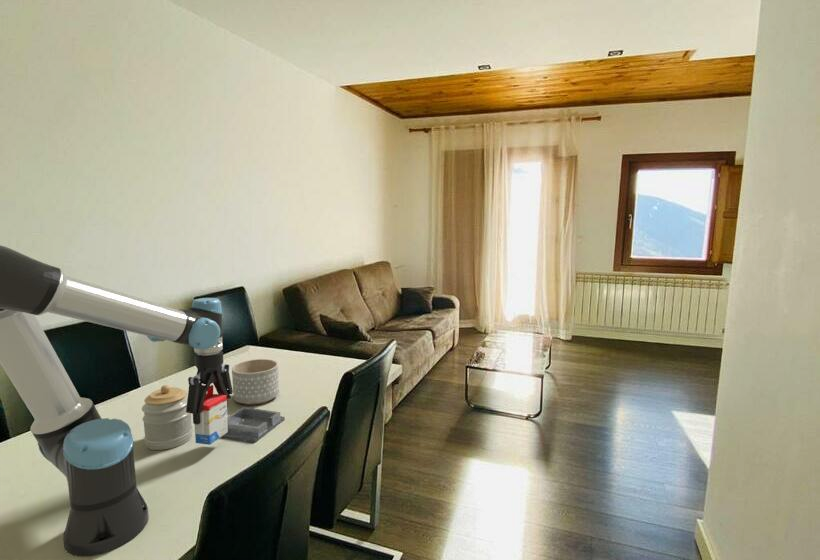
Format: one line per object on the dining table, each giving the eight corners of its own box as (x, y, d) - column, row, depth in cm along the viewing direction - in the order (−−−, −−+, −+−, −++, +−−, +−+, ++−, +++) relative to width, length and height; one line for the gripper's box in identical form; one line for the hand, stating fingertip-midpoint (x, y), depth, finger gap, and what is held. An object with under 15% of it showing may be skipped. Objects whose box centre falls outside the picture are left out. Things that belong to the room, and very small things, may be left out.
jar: (201, 436, 134) (198, 382, 132) (160, 455, 123) (155, 397, 121) (177, 426, 141) (173, 374, 138) (136, 443, 130) (131, 388, 127)
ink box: (210, 445, 121) (208, 396, 120) (194, 443, 122) (192, 394, 121) (228, 431, 130) (226, 385, 128) (214, 430, 131) (212, 383, 129)
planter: (224, 404, 158) (222, 371, 156) (250, 387, 173) (249, 357, 172) (263, 409, 154) (262, 375, 152) (287, 391, 170) (285, 360, 168)
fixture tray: (255, 442, 130) (254, 431, 130) (214, 435, 134) (213, 425, 134) (284, 419, 145) (284, 409, 145) (247, 414, 150) (246, 404, 149)
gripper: (190, 363, 112) (194, 445, 114) (244, 343, 132) (246, 413, 135) (167, 361, 114) (171, 441, 116) (223, 341, 134) (226, 410, 137)
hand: (211, 426), depth 126 cm, fingers closed on ink box, 9 cm apart
